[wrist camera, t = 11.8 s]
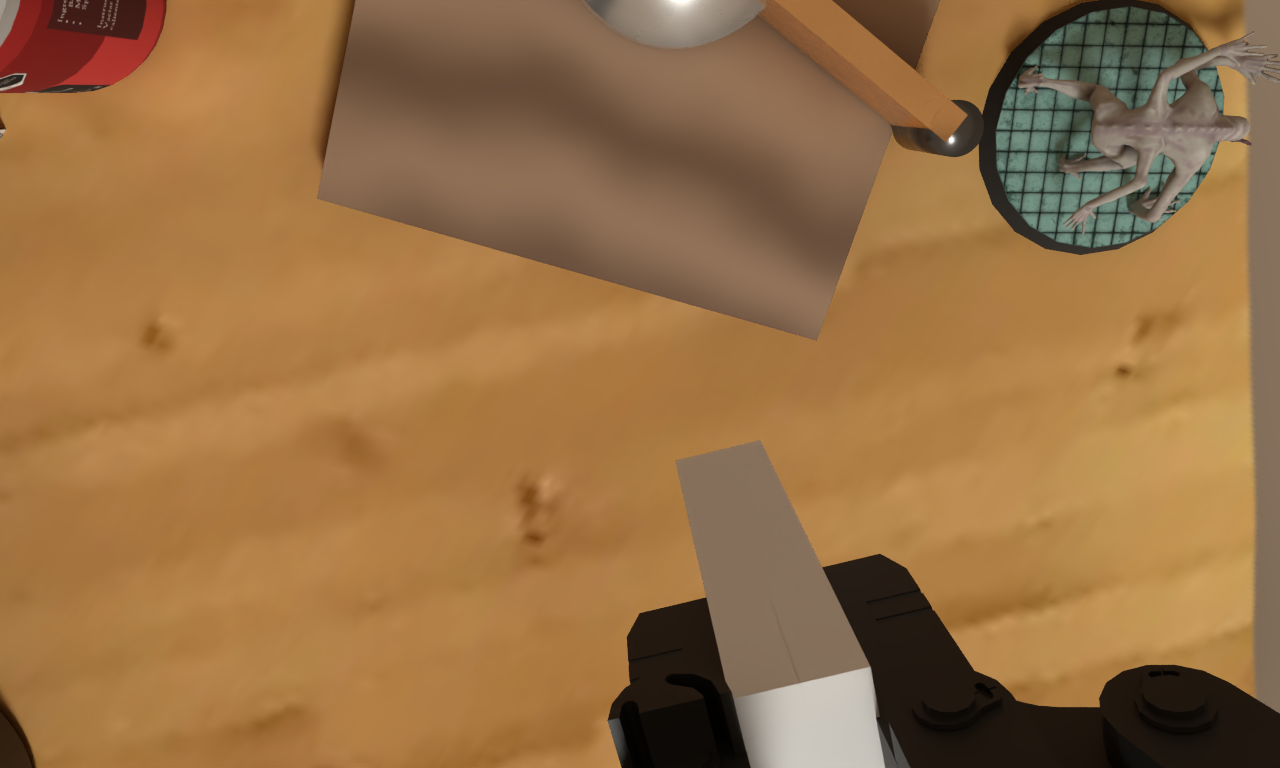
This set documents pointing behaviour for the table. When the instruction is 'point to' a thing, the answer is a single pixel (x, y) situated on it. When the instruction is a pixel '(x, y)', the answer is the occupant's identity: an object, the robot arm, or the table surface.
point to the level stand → (617, 147)
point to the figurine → (1107, 124)
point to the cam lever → (806, 15)
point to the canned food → (74, 42)
